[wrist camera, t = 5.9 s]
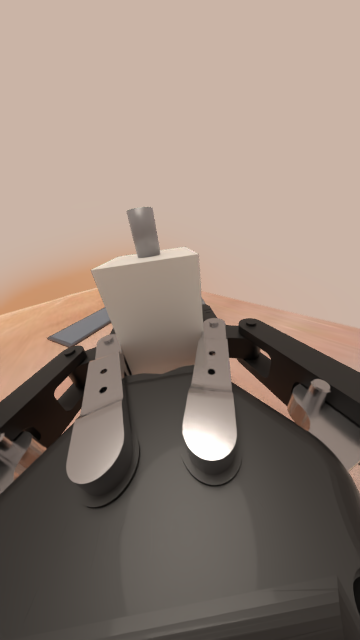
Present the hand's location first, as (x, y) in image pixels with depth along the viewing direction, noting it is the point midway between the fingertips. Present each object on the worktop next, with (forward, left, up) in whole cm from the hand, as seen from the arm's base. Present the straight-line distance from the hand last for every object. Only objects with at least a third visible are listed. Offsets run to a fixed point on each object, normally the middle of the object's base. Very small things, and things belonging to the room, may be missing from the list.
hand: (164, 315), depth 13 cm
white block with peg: (+1, -2, -7) cm, 8 cm away
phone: (-21, +7, -8) cm, 23 cm away
